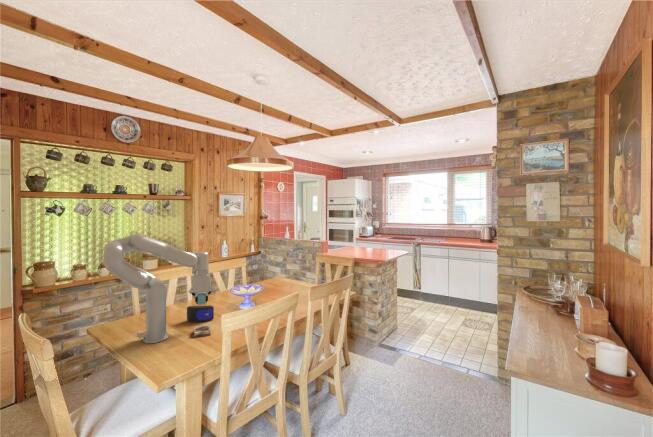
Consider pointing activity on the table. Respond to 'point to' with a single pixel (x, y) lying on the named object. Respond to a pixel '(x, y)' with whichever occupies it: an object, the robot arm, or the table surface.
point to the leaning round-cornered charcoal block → (200, 313)
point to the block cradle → (201, 331)
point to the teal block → (201, 298)
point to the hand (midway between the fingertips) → (201, 302)
